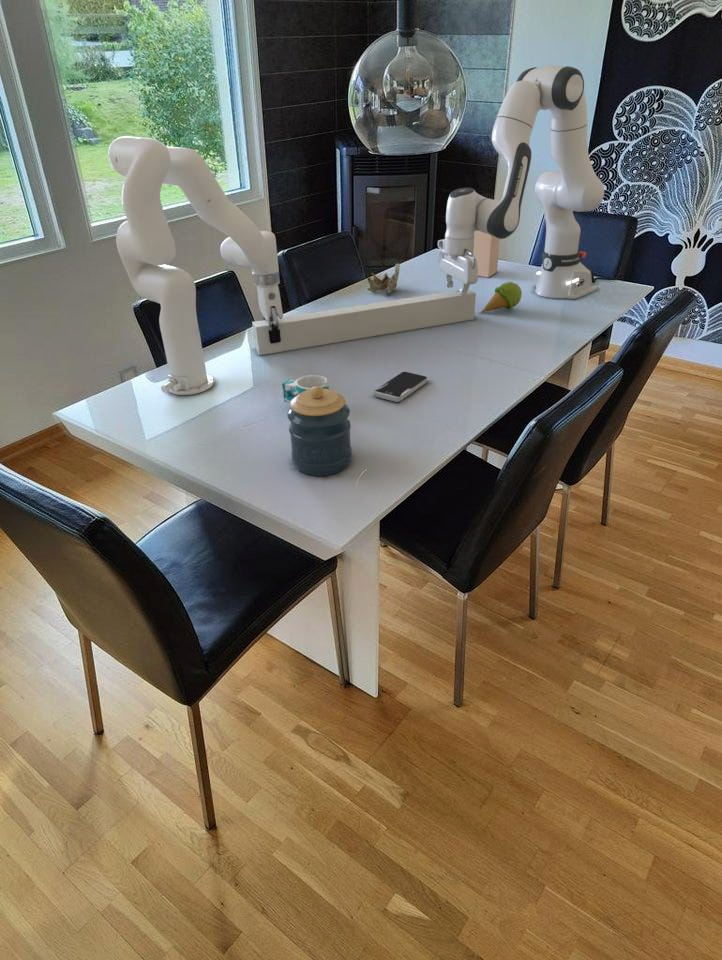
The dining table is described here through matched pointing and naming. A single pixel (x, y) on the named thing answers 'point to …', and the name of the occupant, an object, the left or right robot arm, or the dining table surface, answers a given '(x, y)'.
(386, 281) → the gold crown
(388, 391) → the smartphone
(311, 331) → the post
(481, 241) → the soap dispenser
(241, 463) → the dining table surface
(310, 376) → the mug
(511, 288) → the toy
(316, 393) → the canister
